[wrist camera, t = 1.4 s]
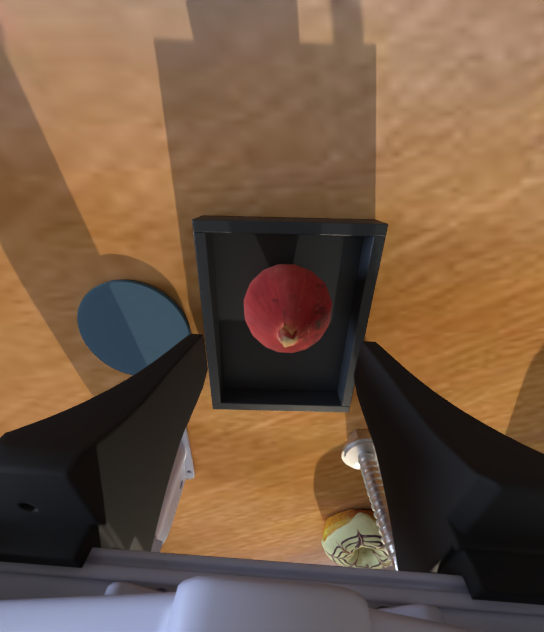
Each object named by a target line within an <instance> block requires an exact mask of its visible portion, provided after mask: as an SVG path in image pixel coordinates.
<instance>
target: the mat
mask: <svg viewBox="0 0 544 632" xmlns="http://www.w3.org/2000/svg"><path fill="white" fill-rule="evenodd" d="M77 320H78V327H79V331H80V333H81V336H82V338H83V340H84V342H85V343H86V345H87V346H88V348H89V349H90V350H91V351H92V352H93V353H94V354H95V355H96V356H97V357H98V358H99V359H100V360H101V361H103V362H104V363H105V364H107V365H109V366H110V367H112V368H114V369H116V370H118V371H121V372H123V373H126V374H130V375H135V374H136V373H138V372H139V371H141V370H142V369H144V368H145V367H146V366H148V365H149V364H151V363H152V362H154V361H155V360H156V359H158V358H159V357H160V356H162V355H163V354H164V353H166V352H167V351H168V350H170V349H171V348H172V347H173V346H175V345H176V344H177V343H179V342H180V341H181V340H182V339H184V338H185V337H186V336H188V335H189V334H191V331H190V326H189V324H188V321H187V319H186V317H185V315H184V313H183V312H182V310H181V309H180V307H179V306H178V305H177V304H176V303H175V302H174V301H173V300H172V299H171V298H170V297H169V296H167V295H166V294H165V293H163V292H162V291H160V290H158V289H157V288H155V287H153V286H150V285H148V284H145V283H142V282H138V281H133V280H113V281H108V282H105V283H103V284H101V285H99V286H97V287H95V288H93V289H92V290H91V291H89V292H88V293H87V294H86V295H85V297H84V298H83V300H82V301H81V303H80V306H79V309H78V317H77Z"/></svg>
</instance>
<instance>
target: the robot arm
mask: <svg viewBox="0 0 544 632" xmlns="http://www.w3.org/2000/svg"><path fill="white" fill-rule="evenodd" d="M207 370H208V367H207V360H206V353H205V346H204V339H203V334H189V335H188V336H186V337H185V338H184V339H182V340H181V341H180V342H179V343H177V344H176V345H175V346H173V347H172V348H171V349H170V350H168V351H167V352H166V353H164V354H163V355H162V356H160V357H159V358H158V359H156V360H155V361H154V362H152V363H151V364H149V365H148V366H146V367H145V368H144V369H142V370H141V371H139V372H138V373H136V374H135V375H133V376H132V377H130V378H128V379H127V380H125V381H123V382H122V383H120V384H118V385H116V386H115V387H113V388H111V389H109V390H107V391H105V392H103V393H101V394H99V395H97V396H95V397H93V398H91V399H90V400H88V401H86V402H83V403H81V404H79V405H77V406H75V407H72V408H70V409H68V410H65V411H63V412H61V413H58V414H56V415H53V416H51V417H48V418H46V419H43V420H41V421H38V422H35V423H32V424H30V425H27V426H24V427H21V428H19V429H16V430H13V431H10V432H7V433H5V434H4V435H3V436H2V437H1V438H0V632H544V454H543V453H540V452H538V451H536V450H534V449H532V448H529V447H527V446H525V445H523V444H521V443H519V442H517V441H516V440H514V439H512V438H510V437H508V436H506V435H504V434H502V433H500V432H498V431H496V430H495V429H493V428H491V427H489V426H487V425H485V424H484V423H482V422H480V421H479V420H477V419H475V418H474V417H472V416H470V415H469V414H467V413H465V412H464V411H462V410H460V409H459V408H457V407H456V406H454V405H453V404H451V403H450V402H448V401H447V400H445V399H444V398H442V397H441V396H440V395H438V394H437V393H435V392H434V391H433V390H431V389H430V388H429V387H427V386H426V385H425V384H424V383H422V382H421V381H420V380H418V379H417V378H416V377H415V376H414V375H412V374H411V373H410V372H409V371H408V370H406V369H405V368H404V367H403V366H402V365H401V364H400V363H398V362H397V361H396V360H395V359H394V358H393V357H392V356H391V355H390V354H389V353H387V352H386V351H385V350H384V349H383V348H382V347H381V346H380V345H378V344H377V343H376V342H364V341H362V342H361V346H360V350H359V355H358V359H357V364H356V368H355V372H354V380H355V386H356V391H357V396H358V399H359V402H360V405H361V408H362V411H363V414H364V417H365V420H366V423H367V426H368V429H369V432H370V435H371V438H372V441H373V445H374V448H375V451H376V455H377V460H378V464H379V469H380V473H381V477H382V482H383V487H384V492H385V497H386V502H387V507H388V512H389V518H390V523H391V529H392V534H393V540H394V547H395V553H396V559H397V565H398V571H395V570H382V569H369V568H356V567H343V566H330V565H317V564H304V563H291V562H278V561H265V560H252V559H239V558H226V557H213V556H200V555H187V554H174V553H161V552H160V550H161V547H162V545H163V543H164V542H165V540H166V538H167V537H168V535H169V532H170V529H171V526H172V523H173V519H174V516H175V513H176V510H177V506H178V503H179V500H180V496H181V493H182V490H183V487H184V483H185V480H186V479H193V478H194V477H195V471H194V465H193V459H192V454H191V448H190V443H189V437H188V432H187V424H188V422H189V419H190V417H191V415H192V412H193V410H194V408H195V405H196V403H197V400H198V398H199V396H200V393H201V391H202V388H203V385H204V381H205V377H206V374H207Z"/></svg>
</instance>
